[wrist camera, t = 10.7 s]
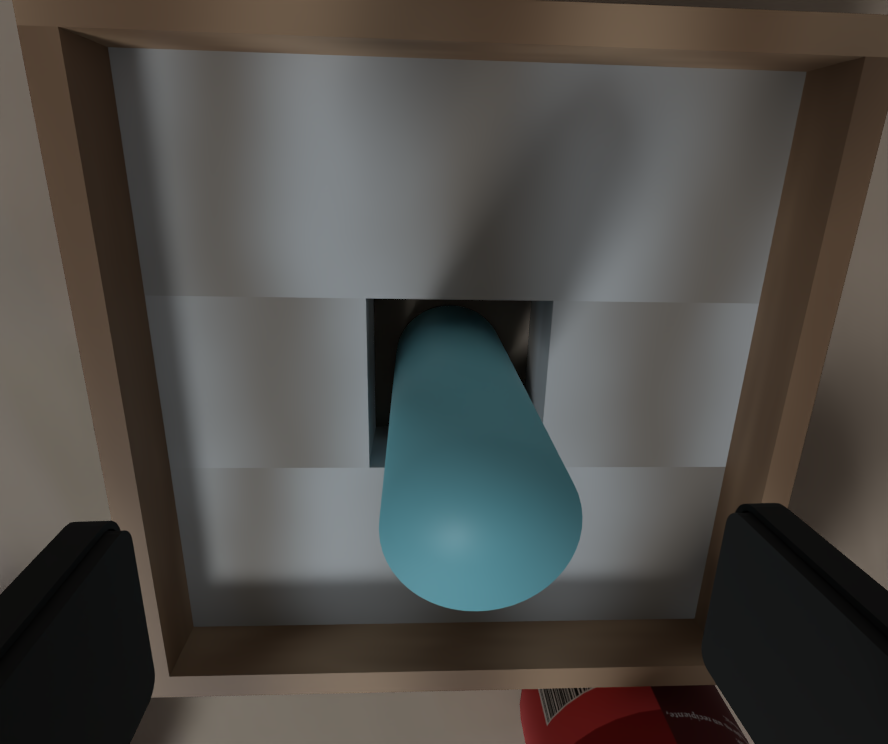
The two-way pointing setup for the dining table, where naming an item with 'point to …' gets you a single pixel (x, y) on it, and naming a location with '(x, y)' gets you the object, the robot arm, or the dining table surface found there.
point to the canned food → (628, 716)
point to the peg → (471, 472)
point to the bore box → (444, 277)
